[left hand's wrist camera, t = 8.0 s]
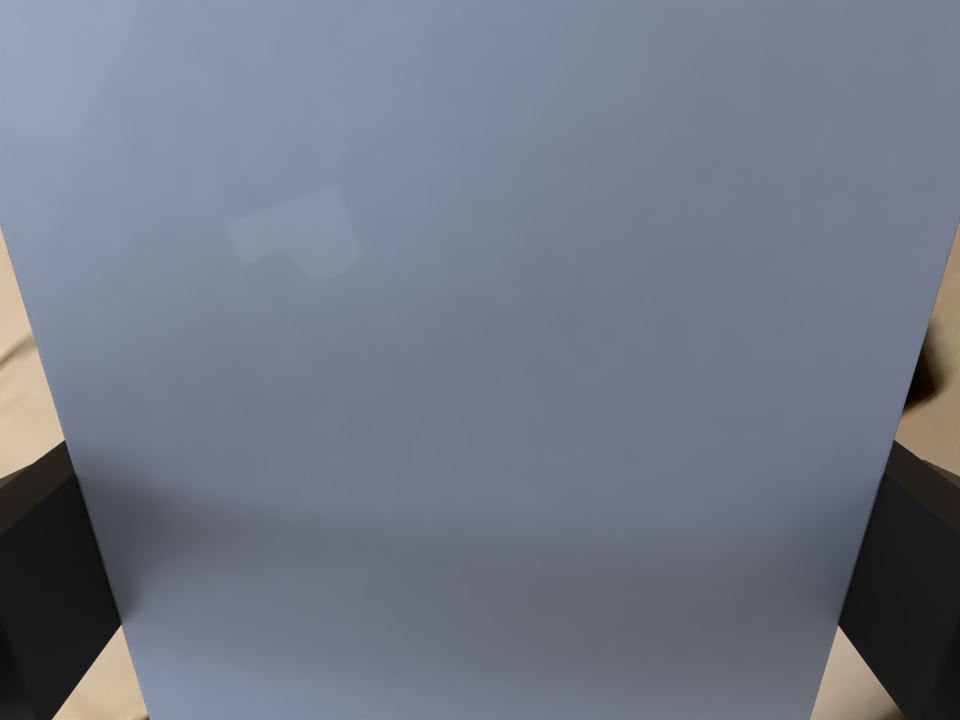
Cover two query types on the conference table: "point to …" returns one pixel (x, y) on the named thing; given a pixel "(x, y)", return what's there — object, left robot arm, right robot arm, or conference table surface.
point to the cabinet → (479, 336)
